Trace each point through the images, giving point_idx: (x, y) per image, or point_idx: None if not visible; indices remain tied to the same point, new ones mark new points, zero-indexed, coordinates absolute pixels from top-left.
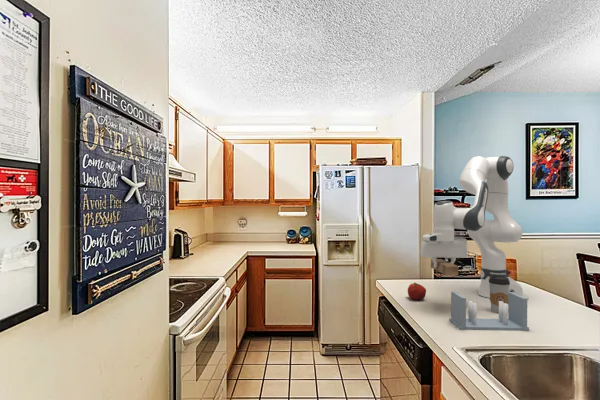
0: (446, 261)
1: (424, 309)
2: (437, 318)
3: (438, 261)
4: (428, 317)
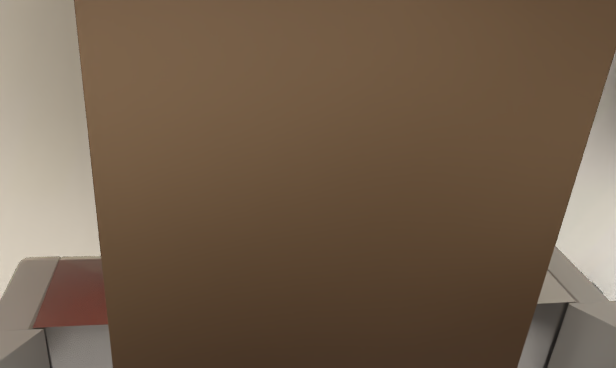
0: (531, 241)
1: (35, 18)
2: (93, 255)
3: (204, 253)
4: (21, 237)
